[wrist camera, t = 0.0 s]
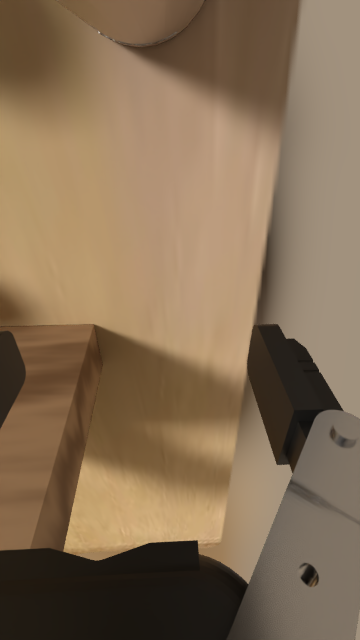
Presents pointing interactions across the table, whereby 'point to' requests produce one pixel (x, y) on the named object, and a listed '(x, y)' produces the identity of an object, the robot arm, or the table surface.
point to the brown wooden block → (46, 434)
